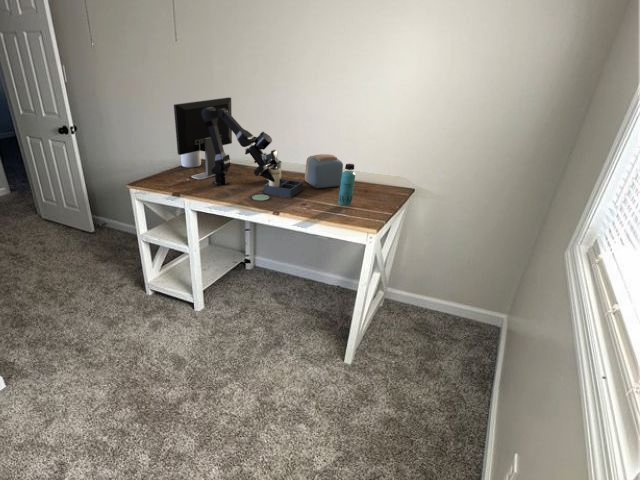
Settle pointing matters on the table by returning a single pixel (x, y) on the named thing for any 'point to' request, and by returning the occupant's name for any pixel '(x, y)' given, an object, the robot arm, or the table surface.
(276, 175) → the pen pot
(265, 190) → the organizer
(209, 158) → the computer monitor
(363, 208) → the table surface
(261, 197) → the coaster
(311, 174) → the blue rounded cube
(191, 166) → the cylinder vase
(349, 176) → the beverage bottle
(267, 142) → the robot arm
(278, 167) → the cup
